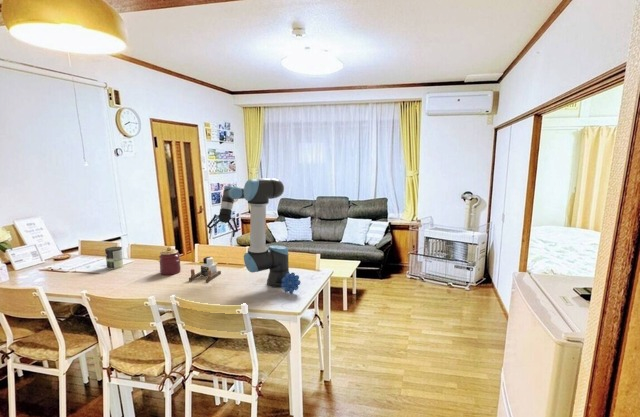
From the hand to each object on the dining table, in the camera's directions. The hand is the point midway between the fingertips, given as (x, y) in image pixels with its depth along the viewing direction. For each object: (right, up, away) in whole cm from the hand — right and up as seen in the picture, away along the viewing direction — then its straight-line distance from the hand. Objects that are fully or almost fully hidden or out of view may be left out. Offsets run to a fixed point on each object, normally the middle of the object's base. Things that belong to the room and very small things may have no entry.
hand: (220, 240), depth 220 cm
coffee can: (-81, -21, +19) cm, 86 cm away
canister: (-36, -23, +7) cm, 43 cm away
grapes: (+50, -27, -31) cm, 64 cm away
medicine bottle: (-8, -23, 0) cm, 24 cm away
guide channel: (-8, -24, -4) cm, 25 cm away
